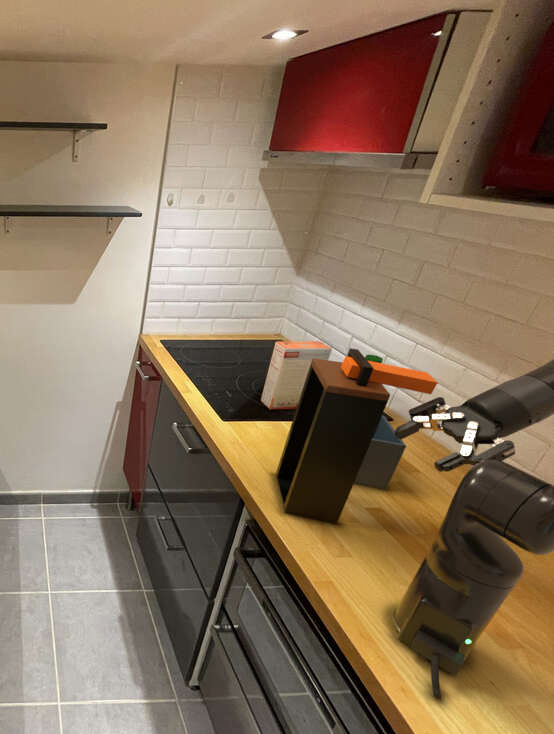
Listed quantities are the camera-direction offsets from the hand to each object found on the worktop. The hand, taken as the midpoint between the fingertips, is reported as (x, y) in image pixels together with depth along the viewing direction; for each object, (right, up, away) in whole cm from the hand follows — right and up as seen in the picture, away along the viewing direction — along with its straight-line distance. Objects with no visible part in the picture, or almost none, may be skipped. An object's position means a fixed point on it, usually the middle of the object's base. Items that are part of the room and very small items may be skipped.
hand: (415, 450), depth 80 cm
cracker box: (+12, +1, +60) cm, 61 cm away
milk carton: (+26, -2, +53) cm, 59 cm away
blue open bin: (+11, -11, +33) cm, 36 cm away
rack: (-6, -16, +22) cm, 28 cm away
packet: (0, +12, +7) cm, 14 cm away
